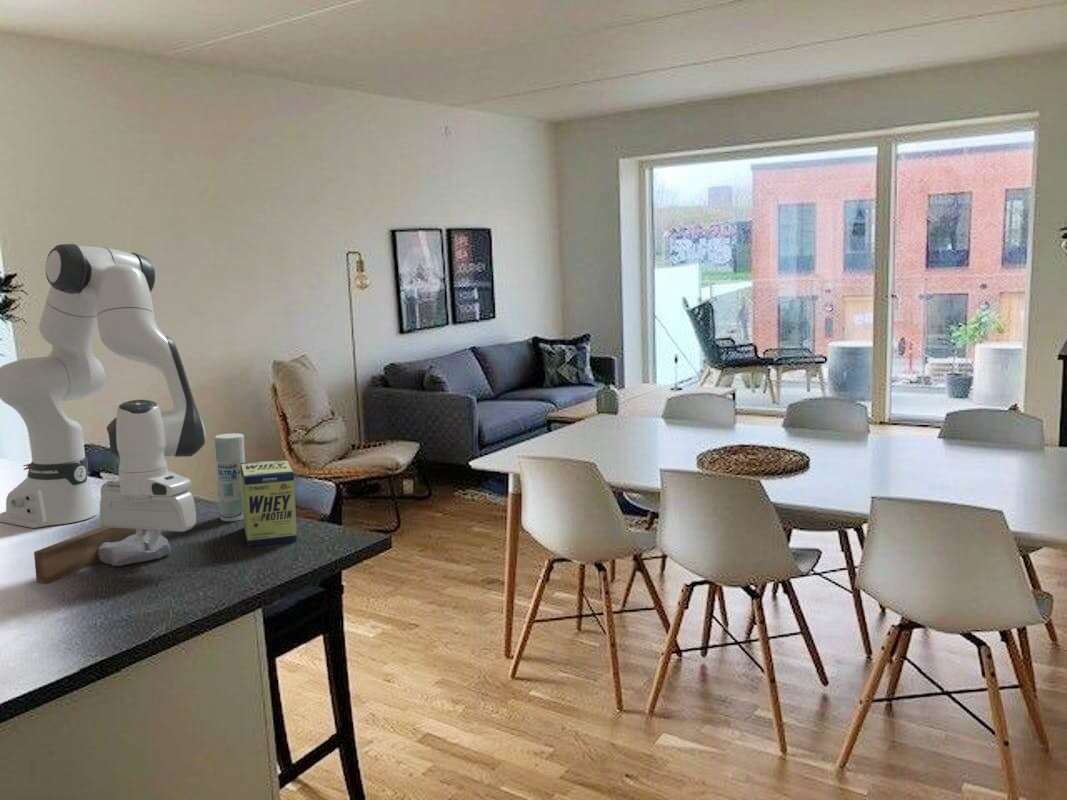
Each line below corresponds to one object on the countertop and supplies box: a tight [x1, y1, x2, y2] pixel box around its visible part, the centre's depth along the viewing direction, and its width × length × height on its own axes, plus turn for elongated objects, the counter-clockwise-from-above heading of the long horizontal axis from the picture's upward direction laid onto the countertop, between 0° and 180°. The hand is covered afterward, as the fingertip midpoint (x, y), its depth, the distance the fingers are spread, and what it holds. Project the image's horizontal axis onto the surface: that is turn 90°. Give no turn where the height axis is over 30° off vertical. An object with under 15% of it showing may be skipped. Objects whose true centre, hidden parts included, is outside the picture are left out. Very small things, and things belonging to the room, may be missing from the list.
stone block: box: [98, 532, 171, 567], centre depth 176 cm, size 12×5×10 cm
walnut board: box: [33, 525, 136, 584], centre depth 176 cm, size 2×28×6 cm, turn 165°
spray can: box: [214, 432, 246, 522], centre depth 205 cm, size 6×6×20 cm
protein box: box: [240, 459, 298, 548], centre depth 192 cm, size 10×16×16 cm
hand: (149, 549), depth 172 cm, fingers closed
